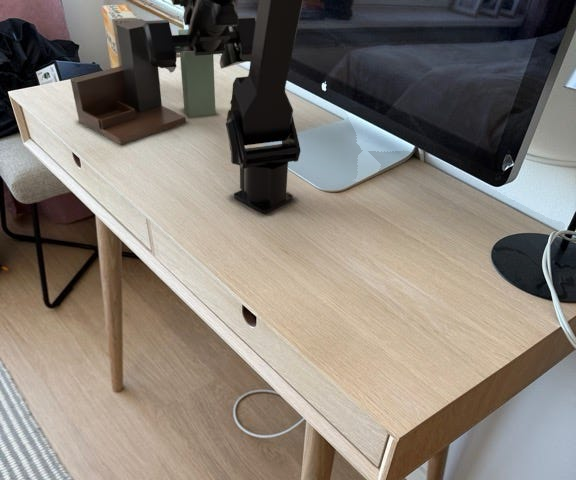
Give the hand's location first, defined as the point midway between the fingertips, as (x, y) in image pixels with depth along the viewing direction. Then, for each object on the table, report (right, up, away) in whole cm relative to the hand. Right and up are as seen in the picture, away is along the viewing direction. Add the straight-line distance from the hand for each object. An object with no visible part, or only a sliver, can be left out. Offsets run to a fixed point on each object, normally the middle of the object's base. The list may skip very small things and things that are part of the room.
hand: (196, 67), depth 100 cm
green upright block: (0, -6, +5) cm, 7 cm away
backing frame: (-11, -10, 0) cm, 15 cm away
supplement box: (-15, +2, +11) cm, 18 cm away
